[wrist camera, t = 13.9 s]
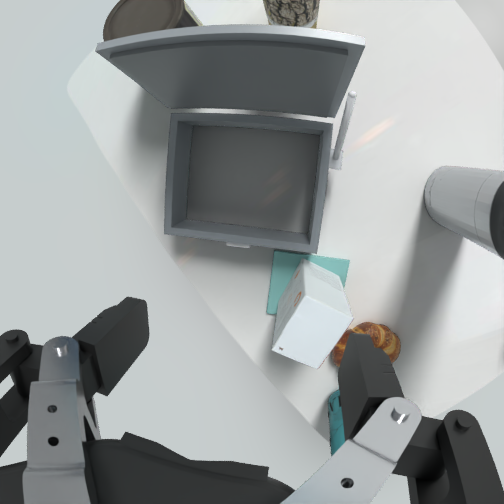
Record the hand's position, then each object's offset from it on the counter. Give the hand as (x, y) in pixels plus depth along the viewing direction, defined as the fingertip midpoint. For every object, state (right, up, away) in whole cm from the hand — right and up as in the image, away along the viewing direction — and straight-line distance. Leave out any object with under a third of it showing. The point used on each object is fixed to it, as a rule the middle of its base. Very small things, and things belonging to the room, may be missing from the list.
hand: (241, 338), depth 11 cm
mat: (+9, -2, +33) cm, 34 cm away
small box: (+9, -2, +33) cm, 34 cm away
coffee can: (-10, +33, +26) cm, 43 cm away
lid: (-1, +18, +13) cm, 22 cm away
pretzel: (+20, -13, +35) cm, 42 cm away
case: (+1, +14, +29) cm, 33 cm away
